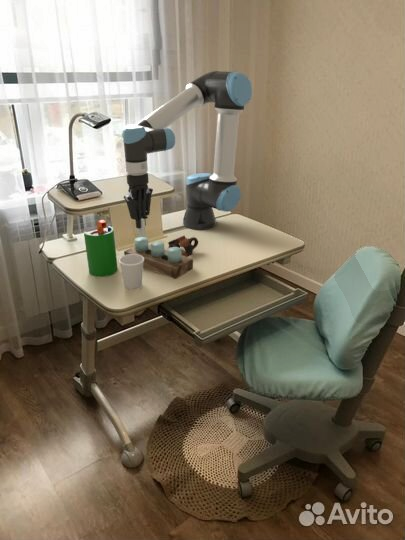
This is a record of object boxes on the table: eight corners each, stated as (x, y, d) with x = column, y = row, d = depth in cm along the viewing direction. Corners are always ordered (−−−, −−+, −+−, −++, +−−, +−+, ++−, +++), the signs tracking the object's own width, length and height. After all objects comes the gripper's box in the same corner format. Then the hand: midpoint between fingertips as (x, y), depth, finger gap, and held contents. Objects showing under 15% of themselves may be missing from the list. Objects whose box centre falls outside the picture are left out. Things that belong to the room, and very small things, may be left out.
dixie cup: (128, 294, 143) (126, 266, 138) (116, 284, 149) (114, 257, 144) (150, 287, 147) (148, 260, 142) (138, 277, 153) (136, 251, 148)
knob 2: (157, 260, 165) (156, 240, 162) (167, 263, 163) (167, 243, 159) (148, 264, 162) (147, 245, 158) (158, 268, 159) (158, 248, 156)
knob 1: (142, 254, 170) (140, 235, 166) (151, 258, 167) (150, 238, 163) (133, 259, 166) (131, 240, 162) (142, 262, 163) (141, 243, 160)
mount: (142, 252, 172) (142, 242, 171) (192, 268, 159) (192, 258, 158) (124, 260, 165) (124, 251, 163) (175, 278, 152) (175, 268, 150)
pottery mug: (177, 262, 166) (168, 242, 165) (172, 262, 175) (163, 243, 174) (204, 249, 169) (196, 230, 168) (198, 250, 178) (190, 232, 177)
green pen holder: (107, 262, 163) (102, 212, 154) (123, 269, 158) (119, 218, 149) (85, 272, 156) (78, 220, 147) (101, 279, 151) (95, 226, 142)
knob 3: (173, 265, 161) (173, 245, 158) (184, 269, 159) (184, 249, 155) (165, 270, 158) (164, 250, 154) (175, 274, 155) (175, 253, 151)
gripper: (131, 178, 145) (137, 243, 156) (157, 170, 154) (160, 232, 165) (116, 175, 149) (122, 238, 160) (142, 167, 158) (146, 227, 169)
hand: (141, 235), depth 162 cm, fingers closed
